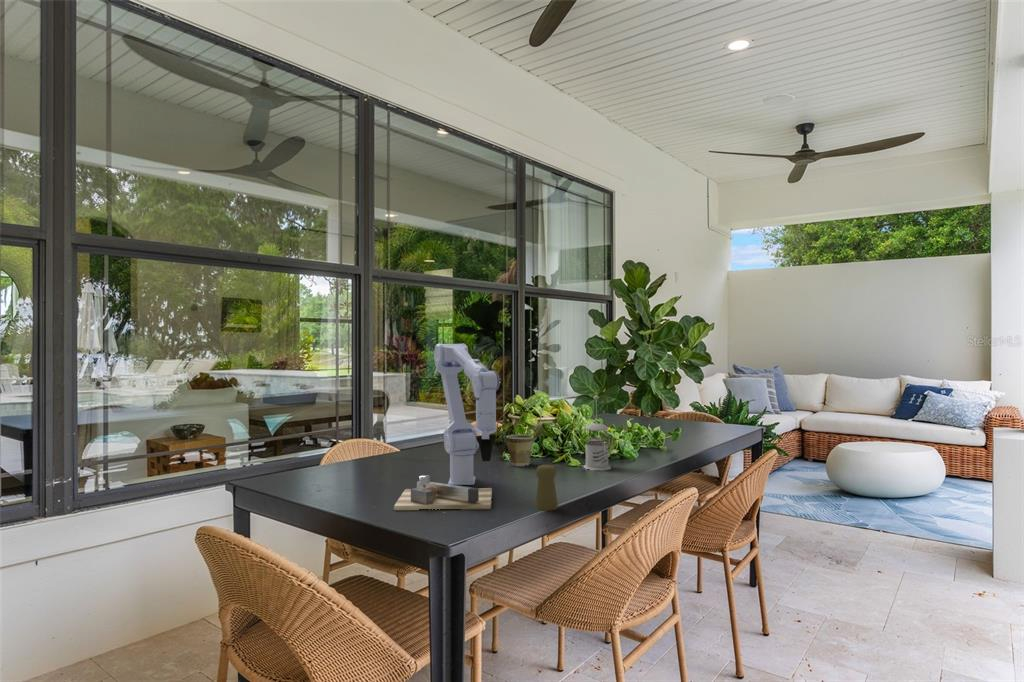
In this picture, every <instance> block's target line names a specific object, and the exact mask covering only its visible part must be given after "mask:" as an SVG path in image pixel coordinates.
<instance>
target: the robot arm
mask: <svg viewBox="0 0 1024 682" xmlns="http://www.w3.org/2000/svg"><path fill="white" fill-rule="evenodd" d="M468 347H469V346H467V344H465V343H463V342H462V343H437V344H436V345H435V347H434V351H433V361H434V366H435V368H436V373H439V374H440V376H441V380H442V381H441V382H442V386H443V390H444V397H445V402H446V407H447V412H448V418H449V422H450V424H449V425H448V426H447V427H446V428H445V429H444V431H443V445H444V446H443V447H444V450H445V452H446V453H447V454H449V472H450V475H449V476H450V477H449V479H448V483H447V484H449V485H456V486H463V485H465V486H474V485H475V482H476V476H474V454H476V451H478V450H479V449H480V455H481V460H482V462H490V461H491V458H492V451H493V446H494V443H495V441H496V439H497V434H494V433H496V432H497V430H498V429H497V396H496V395H497V393H496V392H497V391H498V390H499V388H500V385H501V384H500V383H501V382H500V381H501V380H500V376H499V373H498V372H497V371H496V370H489V369H488V368H487V367H486V366H485V365H484V364H483V363H482V362H481V360H480V359H479V358H475V359H474V358H472V357H471V355H470V354H469V348H468ZM461 372H463V373H464V374H465V375H466V377H467V378H468V379H469V380H470V381H471V386H472V389H473V395H474V396H473V397H474V398H475V425H474V424H472V423H471V422H469V421H467V418H466V413H465V408H464V403H463V397H462V393H461V388H460V383H459V379H458V374H459V373H461ZM479 434H480V435H479Z"/></svg>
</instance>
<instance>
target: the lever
mask: <svg viewBox="0 0 1024 682" xmlns="http://www.w3.org/2000/svg"><path fill="white" fill-rule="evenodd" d="M430 477H431V476H430V475H429V474H422V475H419V480H418V481H416V488H417V487H418V488H423V489H425V488H426V487H428V486H433V487H434V488H435V489H436V491H437V495H436V496H437V497H444V498H450V499H456V500H463V501H468V502H474V503H475V502H477V501H479V492H478V487H470V486H463V485H449V484H448V483H441V482H434V481H430V480H431V479H430Z"/></svg>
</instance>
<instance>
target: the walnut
mask: <svg viewBox="0 0 1024 682" xmlns="http://www.w3.org/2000/svg"><path fill="white" fill-rule="evenodd" d="M425 489H427V490H432V491H433V499H434V498H435V497H436V495H437V491H436V489H435V488H434V487H433V486H428V487H426V488H425Z"/></svg>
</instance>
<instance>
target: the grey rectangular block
mask: <svg viewBox="0 0 1024 682" xmlns="http://www.w3.org/2000/svg"><path fill="white" fill-rule="evenodd" d="M410 489H411V501H412V502H417V503H421V504H425V505H427V504H431V503H433V491H432V490H427V489H423V488H418V487H417V486H416V487H413V488H410Z"/></svg>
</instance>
